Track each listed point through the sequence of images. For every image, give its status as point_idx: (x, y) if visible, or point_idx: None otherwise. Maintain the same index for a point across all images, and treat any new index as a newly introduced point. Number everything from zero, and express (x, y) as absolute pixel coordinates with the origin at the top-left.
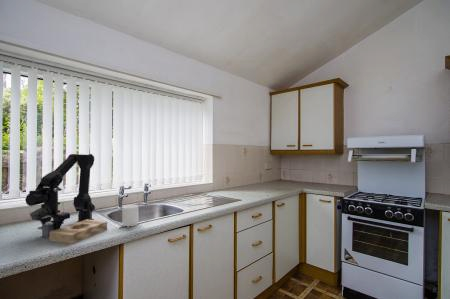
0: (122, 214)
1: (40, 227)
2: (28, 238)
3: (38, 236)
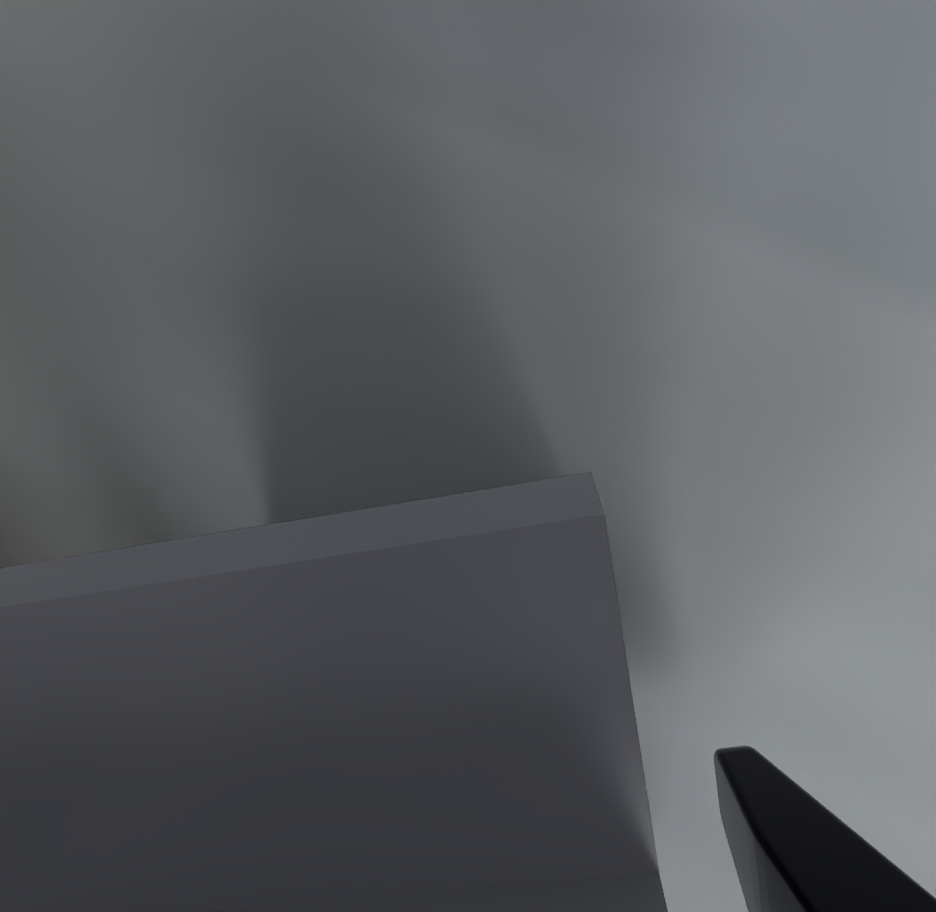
0: None
1: (421, 672)
2: (912, 134)
3: (750, 464)
